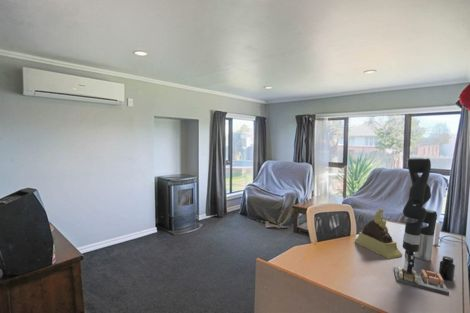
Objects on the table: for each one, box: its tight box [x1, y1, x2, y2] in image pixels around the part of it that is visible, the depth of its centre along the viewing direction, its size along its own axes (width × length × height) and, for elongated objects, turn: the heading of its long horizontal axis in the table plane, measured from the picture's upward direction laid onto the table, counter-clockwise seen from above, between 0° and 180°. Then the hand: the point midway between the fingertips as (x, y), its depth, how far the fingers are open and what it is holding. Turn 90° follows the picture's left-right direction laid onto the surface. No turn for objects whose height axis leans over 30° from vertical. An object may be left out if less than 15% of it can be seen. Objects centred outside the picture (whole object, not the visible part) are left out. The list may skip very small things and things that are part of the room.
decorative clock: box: [354, 208, 403, 260], centre depth 187 cm, size 28×13×30 cm, turn 22°
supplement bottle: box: [438, 255, 456, 282], centre depth 152 cm, size 7×7×12 cm
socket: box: [420, 269, 445, 286], centre depth 146 cm, size 8×8×3 cm
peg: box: [403, 257, 414, 277], centre depth 147 cm, size 4×4×10 cm
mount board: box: [393, 266, 450, 296], centre depth 147 cm, size 16×23×4 cm
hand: (408, 269), depth 147 cm, fingers open, 8 cm apart
